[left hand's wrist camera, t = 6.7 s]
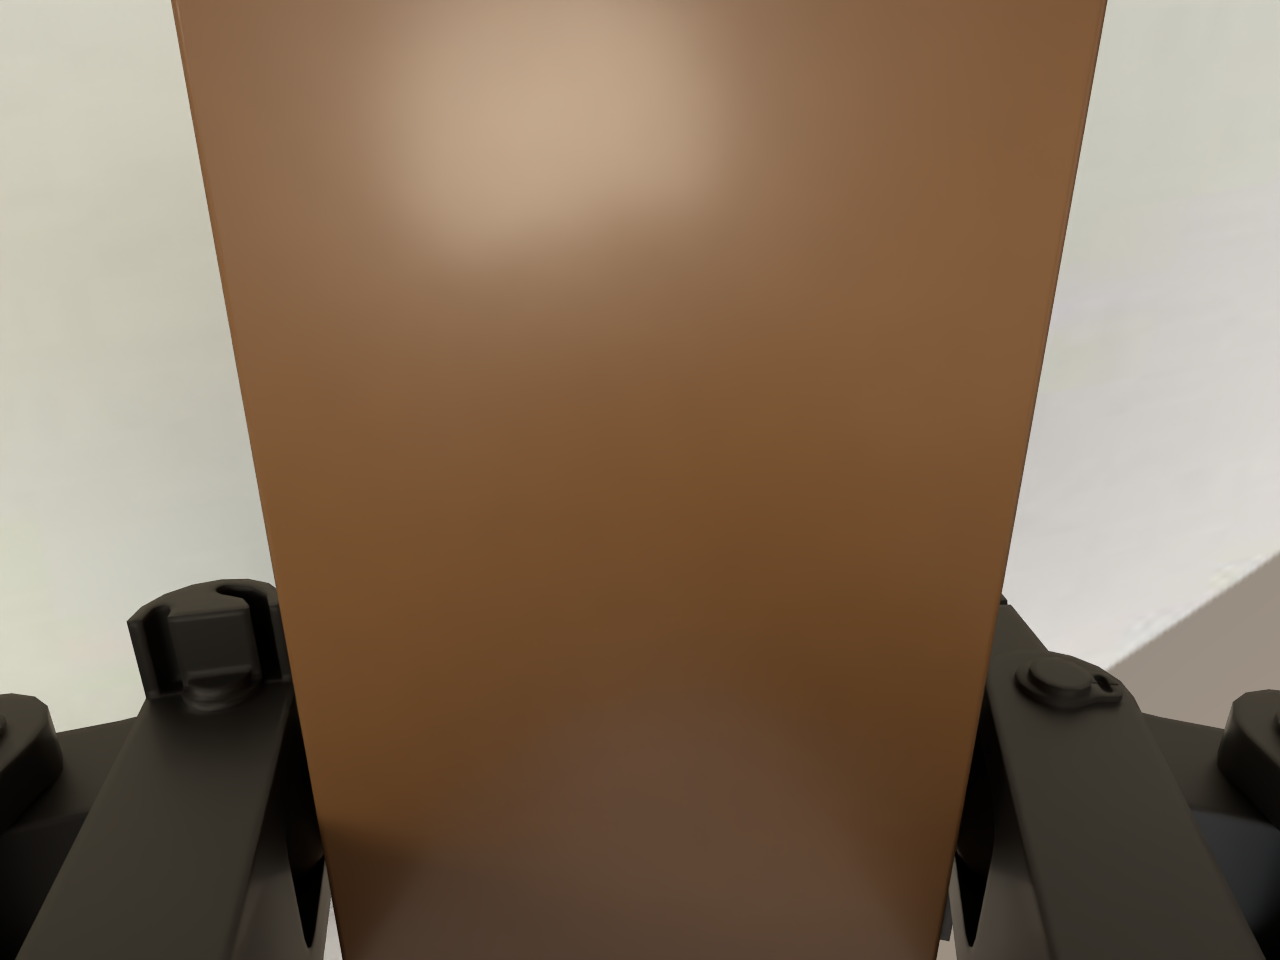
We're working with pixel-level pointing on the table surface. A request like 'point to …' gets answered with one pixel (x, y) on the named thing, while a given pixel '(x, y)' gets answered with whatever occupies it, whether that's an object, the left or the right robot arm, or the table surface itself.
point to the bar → (639, 444)
